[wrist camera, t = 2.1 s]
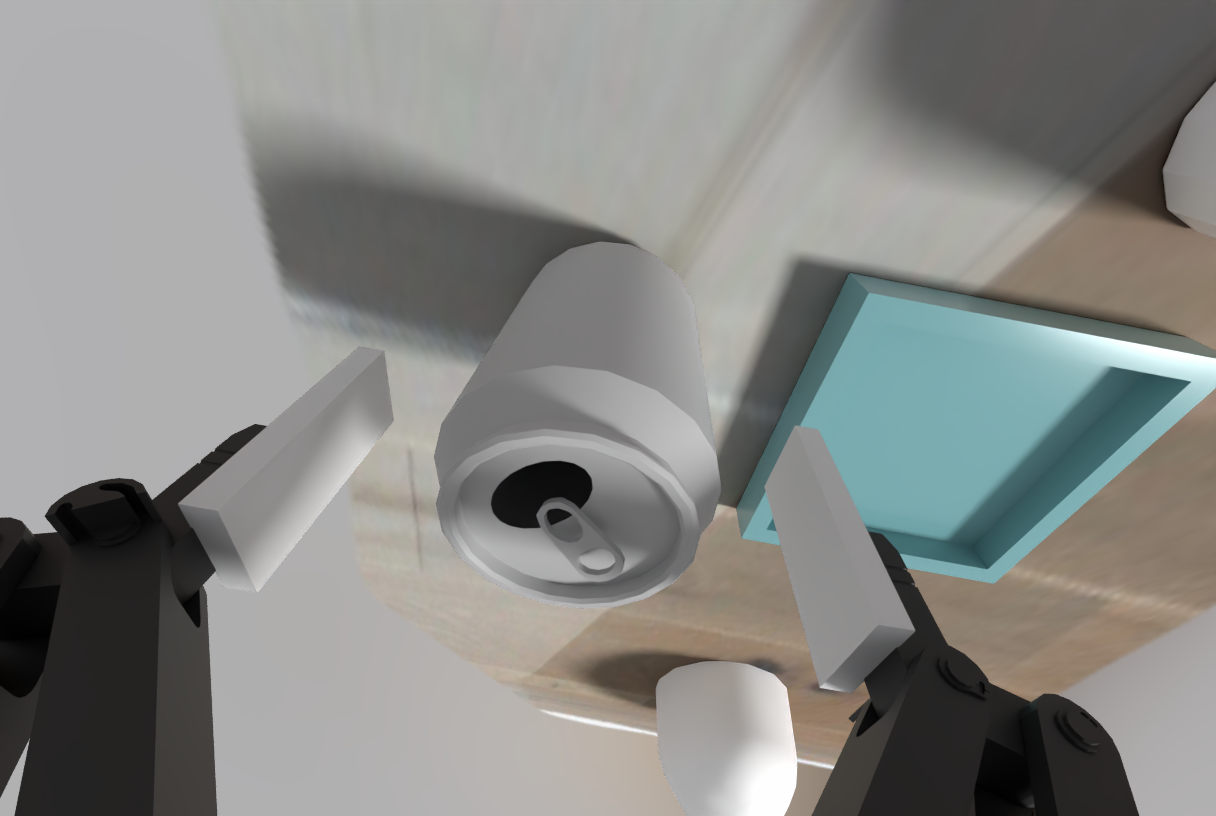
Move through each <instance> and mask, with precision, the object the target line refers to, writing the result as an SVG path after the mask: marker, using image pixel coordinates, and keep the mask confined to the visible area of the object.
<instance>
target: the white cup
mask: <svg viewBox="0 0 1216 816" xmlns="http://www.w3.org/2000/svg"><path fill="white" fill-rule="evenodd" d="M1163 179H1164V188H1165V196H1166V205H1167V209H1168V210H1169V211H1170V212H1171V213H1172V214H1174V215H1175V216H1176V217H1178V218H1179V219H1180V220H1182V221H1183V222H1184V223H1185V224H1187V225H1188V226H1189V227H1191V228H1192V229H1193V230H1195V231H1196V232H1199V233H1201V234H1204V235H1207V236H1210V237H1213V238H1216V81H1215V83H1214V84H1213V85H1212V86H1211V87H1210V88H1209V90H1208V91H1207V92H1206V93H1205V94H1204V96H1203V97H1202V98H1201V99H1200V100H1199V101H1198V103H1197V104H1196V105H1195V106H1194V107H1193V109H1192V110H1191V111H1190V112H1189V113H1188V114H1187V116H1186V117H1185V118H1184V120H1183V123H1182V125H1181V127H1180V130H1179V132H1178V135H1177V137H1176V139H1175V142H1174V144H1173V146H1172V149H1171V151H1170V153H1169V156H1168V158H1167V161H1166V163H1165V165H1164V168H1163Z"/></svg>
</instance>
